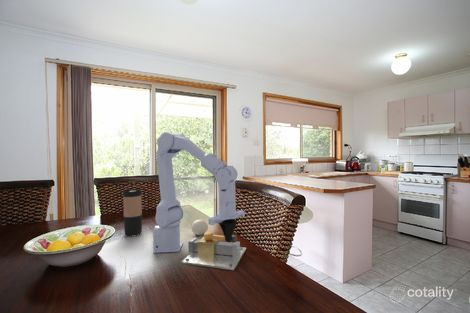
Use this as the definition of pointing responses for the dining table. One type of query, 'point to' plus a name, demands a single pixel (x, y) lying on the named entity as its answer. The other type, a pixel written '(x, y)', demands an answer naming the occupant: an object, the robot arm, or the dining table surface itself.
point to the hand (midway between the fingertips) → (228, 241)
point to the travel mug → (132, 212)
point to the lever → (218, 237)
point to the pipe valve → (213, 247)
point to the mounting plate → (214, 260)
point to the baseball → (199, 227)
